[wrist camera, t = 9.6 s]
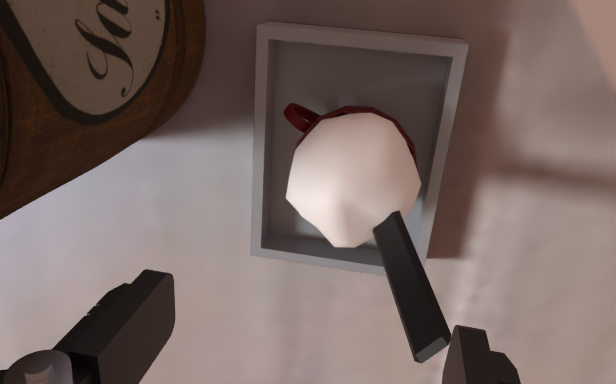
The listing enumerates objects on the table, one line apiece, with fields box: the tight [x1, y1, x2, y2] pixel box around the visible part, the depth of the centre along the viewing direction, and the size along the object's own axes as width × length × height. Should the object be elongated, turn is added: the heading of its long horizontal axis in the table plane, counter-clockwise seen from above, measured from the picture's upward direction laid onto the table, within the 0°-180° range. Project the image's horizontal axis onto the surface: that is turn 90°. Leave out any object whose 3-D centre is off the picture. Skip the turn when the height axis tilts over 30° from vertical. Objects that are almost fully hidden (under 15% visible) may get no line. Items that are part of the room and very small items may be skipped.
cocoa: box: [283, 103, 451, 363], centre depth 22 cm, size 10×6×12 cm, turn 28°
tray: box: [251, 21, 469, 277], centre depth 26 cm, size 10×13×2 cm
